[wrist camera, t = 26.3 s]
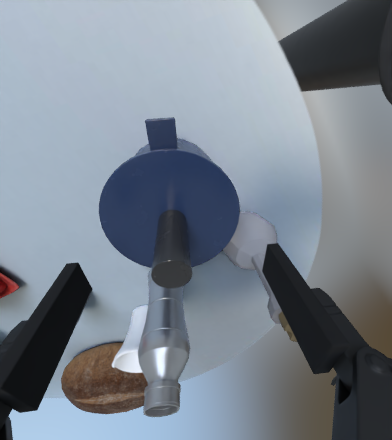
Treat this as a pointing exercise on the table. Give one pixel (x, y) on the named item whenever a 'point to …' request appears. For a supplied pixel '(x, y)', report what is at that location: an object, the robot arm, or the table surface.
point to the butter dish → (7, 285)
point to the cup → (132, 343)
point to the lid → (169, 212)
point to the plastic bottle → (163, 349)
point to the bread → (102, 382)
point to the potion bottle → (256, 256)
